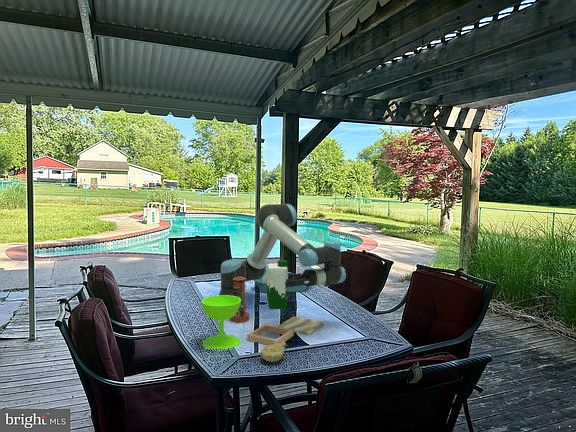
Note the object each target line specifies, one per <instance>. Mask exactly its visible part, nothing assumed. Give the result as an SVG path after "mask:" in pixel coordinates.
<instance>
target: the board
mask: <svg viewBox="0 0 576 432" xmlns="http://www.w3.org/2000/svg"><path fill="white" fill-rule="evenodd" d="M324 325H325V321H322V320H321V321H320V320H315V319H311V318H305V317H299V316H292V317H290V318H289V319H287V320H286V321H284V322H282V323H281V324H279V325H277V327H281V328H286V329H291V330H294V333H295V334H296V333H297V334H302V335H306V336H310V335H312V334H313V333H315V332H316V331H317V330H319V329H320V328H321V327H323V326H324Z"/></svg>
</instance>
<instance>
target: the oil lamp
mask: <svg viewBox="0 0 576 432" xmlns="http://www.w3.org/2000/svg"><path fill="white" fill-rule="evenodd" d="M273 344H274V345H265V346H264V347H263V348H262V349H261V350H260V357H261V358H262V359H264V360H265V361H266V362H267V361H269V362H276V361H278V362H279V361H280V360H281V359H282V358H283V357H284V354H285V350H286V349H285V348H286V346H287V343H286V341H285V342H284V341H277V342H274V343H273ZM269 362H268V363H269ZM276 363H277V362H276Z"/></svg>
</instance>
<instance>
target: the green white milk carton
mask: <svg viewBox="0 0 576 432" xmlns="http://www.w3.org/2000/svg"><path fill="white" fill-rule="evenodd" d="M288 269H289V268H288V260H287V259H279V260H277V262H274V263H268V264H267V268H266V275H267V292H266V301H267V304H268V310H286V309H287V305H288V304H287V303H288V295H289V294H288V293H289V292H288V286H286V285H285V282H286V279H288V274H289V271H288ZM270 281H273V286H274V287H272V288H270Z"/></svg>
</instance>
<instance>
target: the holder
mask: <svg viewBox="0 0 576 432" xmlns="http://www.w3.org/2000/svg"><path fill="white" fill-rule="evenodd" d="M266 332H270V333H273V334H278V335H281V336H279V337H277V338H271V337H267V336H266V337H265V336H262V334H264V333H266ZM294 335H295V332H294V330H291V329H286V328H281V327H278V326H276V325H270V324H266V323H265V324H263V325H262V326H260V327H258V328H256V329H255V330H252V331H251V332H249V333H247V334H246V339H247V341H248V340H250V341H249V342H252V341H254V342H253V343H257V342H258V344H261V343H262V345H265V344H266V345H265V346H267V345H274V344H273V343H274V342H277V341H284V342H285V343H286V342H287V341H288V340H289V339H291V338H293V337H294Z"/></svg>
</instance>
